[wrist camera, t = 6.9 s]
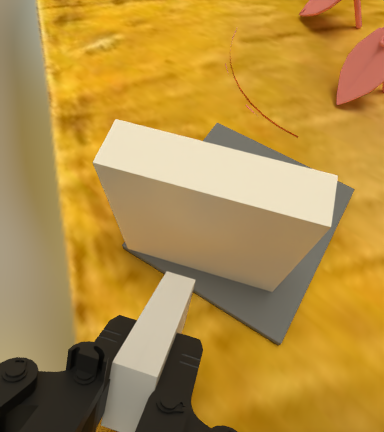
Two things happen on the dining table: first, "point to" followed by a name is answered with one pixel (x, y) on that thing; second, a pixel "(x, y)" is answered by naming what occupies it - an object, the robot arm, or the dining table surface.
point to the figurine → (352, 58)
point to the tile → (213, 204)
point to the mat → (245, 294)
